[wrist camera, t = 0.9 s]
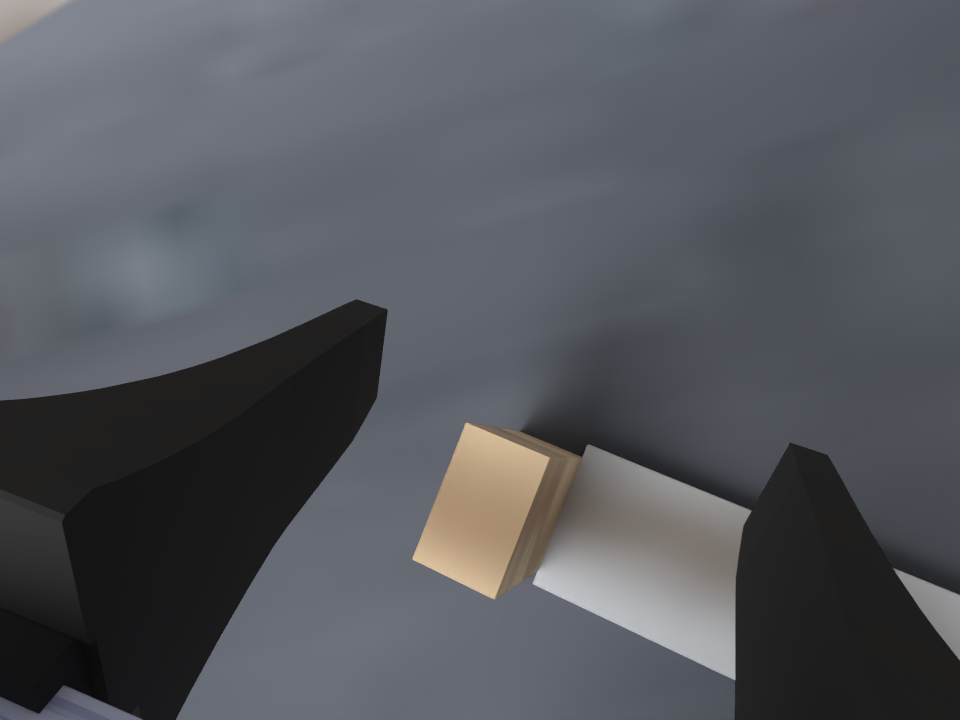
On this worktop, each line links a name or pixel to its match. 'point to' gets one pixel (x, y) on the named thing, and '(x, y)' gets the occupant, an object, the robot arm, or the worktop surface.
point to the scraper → (606, 541)
